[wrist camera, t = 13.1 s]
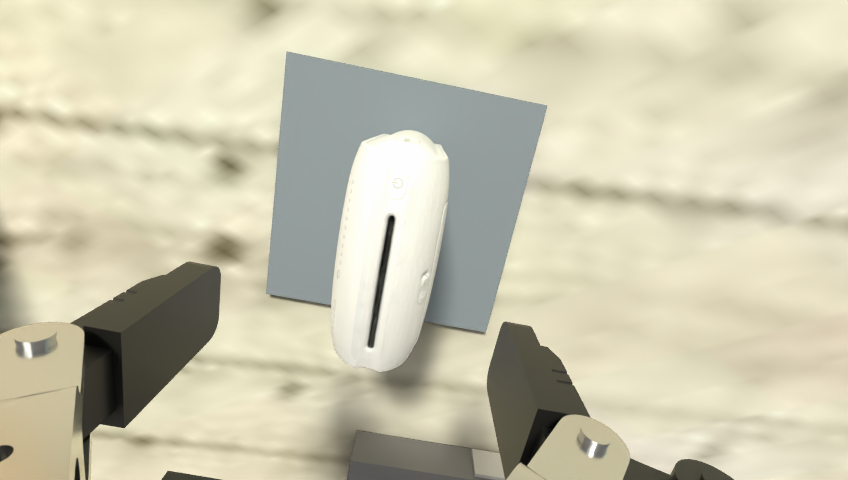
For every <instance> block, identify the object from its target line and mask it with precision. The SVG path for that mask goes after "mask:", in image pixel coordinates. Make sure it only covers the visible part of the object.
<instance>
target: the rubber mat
mask: <svg viewBox="0 0 848 480" xmlns="http://www.w3.org/2000/svg"><path fill="white" fill-rule="evenodd" d="M546 109H547V106H546V105H542V104H537V103H532V102H527V101H522V100H518V99H513V98H508V97H503V96H498V95H494V94H489V93H484V92H479V91H474V90H470V89H465V88H460V87H455V86H450V85H446V84H441V83H436V82H431V81H426V80H422V79H417V78H412V77H407V76H402V75H398V74H393V73H388V72H383V71H378V70H374V69H369V68H364V67H359V66H354V65H350V64H345V63H340V62H335V61H330V60H326V59H321V58H316V57H311V56H306V55H302V54H297V53H292V52H287V53H286V65H285V77H284V89H283V101H282V112H281V124H280V136H279V148H278V159H277V171H276V183H275V195H274V207H273V218H272V230H271V242H270V254H269V266H268V277H267V289H266V294H271V295H276V296H282V297H288V298H293V299H299V300H305V301H310V302H316V303H322V304H327V305H331V300H332V287H333V277H334V268H335V260H336V252H337V245H338V238H339V231H340V224H341V218H342V212H343V206H344V201H345V196H346V190H347V186H348V181H349V176H350V173H351V169H352V165H353V162H354V159H355V157H356V154H357V152H358V149H359V147H360V145H361V143H362V142H363V141H365V140H368V139H370V138H373V137H376V136H379V135H381V134H389V135H391V134H394V133H396V132H399V131H403V130H414V131H418V132H420V133H423V134H424V135H426V136H427V137H429V138H430V139H431V140H432V142H433V143H434V144H440V145H441V146H442V148H443V150H444V152H445V153H446V155H447V157H448V159H449V191H448V205H447V212H446V220H445V226H444V231H443V237H442V242H441V248H440V253H439V258H438V262H437V268H436V272H435V277H434V281H433V286H432V290H431V294H430V298H429V303H428V307H427V310H426V314H425V318H424V322H429V323H435V324H441V325H446V326H452V327H458V328H463V329H469V330H475V331H480V332H486V330H487V326H488V323H489V319H490V315H491V312H492V308H493V304H494V300H495V297H496V293H497V289H498V286H499V282H500V278H501V275H502V271H503V267H504V264H505V260H506V256H507V253H508V249H509V245H510V242H511V238H512V234H513V230H514V227H515V223H516V219H517V216H518V212H519V208H520V205H521V201H522V197H523V194H524V190H525V186H526V183H527V179H528V175H529V172H530V168H531V164H532V160H533V157H534V153H535V149H536V146H537V142H538V138H539V135H540V131H541V127H542V124H543V120H544V116H545V113H546Z"/></svg>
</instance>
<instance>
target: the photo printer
mask: <svg viewBox="0 0 848 480" xmlns="http://www.w3.org/2000/svg"><path fill="white" fill-rule="evenodd" d="M448 191H449V159H448V157H447V155H446V153H445V152H444V150H443V148H442V146H441V145H440V144H434V143H433V142H432V140H431V139H430V138H429V137H427V136H426V135H424V134H423V133H420V132H418V131H414V130H403V131H399V132H396V133H394V134H391V135H389V134H381V135H379V136H376V137H373V138H370V139H368V140H365V141H363V142H362V143H361V145H360V147H359V149H358V152H357V154H356V157H355V159H354V162H353V165H352V169H351V173H350V176H349V181H348V186H347V190H346V196H345V201H344V206H343V212H342V218H341V224H340V231H339V238H338V245H337V252H336V260H335V268H334V277H333V287H332V300H331V334H332V340H333V345H334V349H335V351H336V353H337V355H338V356H339V357H340V358H341V359H342V360H343V361H344V362H345V363H347V364H348V365H350V366H352V367H354V368H358V367H363V368H369V369H373V370H375V371H377V372H384V371H389V370H391V369H394V368H396V367H398V366H400V365H401V364H402V363H404V362H405V361H406V359H407V358H408V357H409V354H410V353H411V351H412V349H413V347H414V346H415V344H416V342H417V340H418V337H419V334H420V332H421V328H422V324H423V321H424V318H425V314H426V310H427V307H428V303H429V298H430V294H431V290H432V286H433V281H434V277H435V272H436V268H437V262H438V258H439V253H440V248H441V242H442V237H443V231H444V226H445V220H446V212H447V205H448Z"/></svg>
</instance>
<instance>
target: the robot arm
mask: <svg viewBox="0 0 848 480" xmlns="http://www.w3.org/2000/svg"><path fill="white" fill-rule="evenodd" d="M220 282H221V273H220V270H219V268H218V267H215V266H210V265H205V264H199V263H194V262H186V263H184V264H183V265H181V266H180V267H178V268H176V269H175V270H173V271H171V272H170V273H168V274H167V275H161V276H158V277H155V278H151V279H148V280H145V281H142V282H140V283H138V284H137V285H135V286H133V287H131V288H130V289H128V290H127V291H126V293H125V292H123V293H121V294H120V295H118V296H116V297H114V299H113V300H109V301H108V302H106V303H104V304H102V305H101V306H99V307H97V308H96V309H94V310H92V311H91V312H89V313H87V314H85V315H84V316H82V317H80V318H79V319H77V320H75V321H73V322H72V323H63V322H45V323H36V324H30V325H26V326H22V327H18V328H15V329H12V330H9V331H6V332H4V333H2V334H0V480H91V450H92V441H91V432H92V431H93V430H94V429H95V428H96V427H97V426H98V425H99V424H103V425H109V426H115V427H121V428H125V427H126V426H127V425H128V424H129V423H130V422H131V421H132V420H133V419H134V418H135V417H136V416H137V415H138V414H139V413H140V412H141V410H142V409H143V408H144V407H145V406H146V405H147V404H148V403H149V402H150V401H151V400H152V399H153V398H154V397H155V396H156V395H157V394H158V393H159V392H160V391H161V390H162V389H163V388H164V387H165V386H166V385H167V384H168V383H169V382H170V381H171V380H172V379H173V378H174V377H175V375H176V374H177V373H178V372H179V371H180V370H181V369H182V368H183V367H184V366H185V365H186V364H187V363H188V362H189V361H190V360H191V359H192V358H193V357H194V356H195V355H196V354H197V353H198V352H199V351H200V350H201V349H202V348H203V347H204V346H205V345H206V344H207V343H208V342H209V340H210V339H211V338H212V336H213V335H214V332H215V330H216V328H217V324H218V319H219V302H220ZM487 391H488V397H489V402H490V407H491V412H492V417H493V422H494V427H495V432H496V437H497V442H498V447H499V452H500V457H501V462H502V467H503V472H504V477H505V480H734V479H732V478H731V477H730V476H728V475H727V474H725V473H723V472H722V471H720V470H718V469H717V468H715V467H713V466H711V465H708V464H706V463H703V462H700V461H697V460H691V459H684V460H680V461H678V462H677V463H676V465H675V467H674V469H673V471H672V473H671V475H669V474H666V473H664V472H662V471H659V470H657V469H654V468H652V467H649V466H647V465H645V464H642V463H640V462H637V461H635V460H633V459H631V458H630V453H629V450H628V448H627V446H626V444H625V443H624V442H623V440H622V439H621V438H620V437H619V436H618V435H617V434H616V433H615V432H614V431H613V430H611V429H610V428H609V427H607V426H606V425H604V424H603V423H601V422H599V421H597V420H595V419H592V418H591V417H590V415H589V414H588V412H587V410H586V408H585V406H584V404H583V402H582V400H581V398H580V396H579V394H578V392H577V390H576V389H575V387H574V385H572V381H571V379H570V377H569V375H567V371H566V369H565V367H564V365H563V364H562V362H561V360H560V359H559V358H558V357H557V356H556V355H555V354H554V353H553V352H552V351H551V350H550V349H549V348H548V347H544V346H540V344H539V342H538V340H537V337H536V335H535V333H534V331H533V329H532V327H531V326H526V325H521V324H515V323H510V322H504V323H503V324H502V326H501V329H500V332H499V336H498V339H497V342H496V346H495V349H494V353H493V356H492V360H491V363H490V367H489V371H488V377H487ZM162 480H220V479H214V478H208V477H202V476H196V475H190V474H184V473H178V472H172V471H167V473H166V474H165V476H164V477H163V478H162Z"/></svg>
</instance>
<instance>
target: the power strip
mask: <svg viewBox="0 0 848 480" xmlns="http://www.w3.org/2000/svg"><path fill="white" fill-rule="evenodd" d="M347 480H505V477H504V472H503V467H502V462H501V457H500V453H496V452H490V451H484V450H478V449H470V448H464V447H458V446H452V445H445V444H439V443H433V442H427V441H421V440H414V439H408V438H402V437H396V436H389V435H383V434H377V433H371V432H365V431H358V430H357V432H356V437H355V442H354V446H353V451H352V455H351V460H350V465H349V471H348V477H347Z"/></svg>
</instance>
